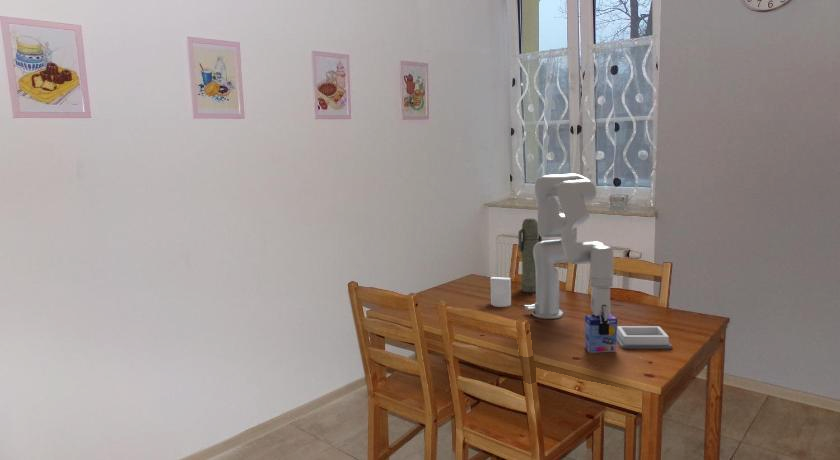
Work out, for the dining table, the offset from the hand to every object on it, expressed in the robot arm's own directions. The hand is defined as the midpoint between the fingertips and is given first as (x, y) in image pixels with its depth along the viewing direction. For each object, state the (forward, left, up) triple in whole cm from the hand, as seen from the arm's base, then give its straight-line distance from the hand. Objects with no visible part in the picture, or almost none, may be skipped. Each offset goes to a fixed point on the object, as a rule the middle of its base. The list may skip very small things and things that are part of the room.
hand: (601, 329), depth 197 cm
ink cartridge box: (0, 0, -8) cm, 8 cm away
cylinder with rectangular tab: (-33, +56, -8) cm, 66 cm away
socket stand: (+16, +8, -7) cm, 19 cm away
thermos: (-18, +79, -8) cm, 82 cm away
